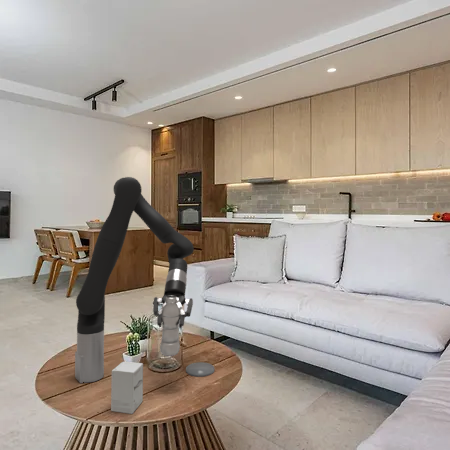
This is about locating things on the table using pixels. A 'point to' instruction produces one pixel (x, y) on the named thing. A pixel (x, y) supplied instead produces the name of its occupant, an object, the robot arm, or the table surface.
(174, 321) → the plastic bottle
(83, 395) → the table surface
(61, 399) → the table surface
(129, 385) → the supplement box
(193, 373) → the coaster
